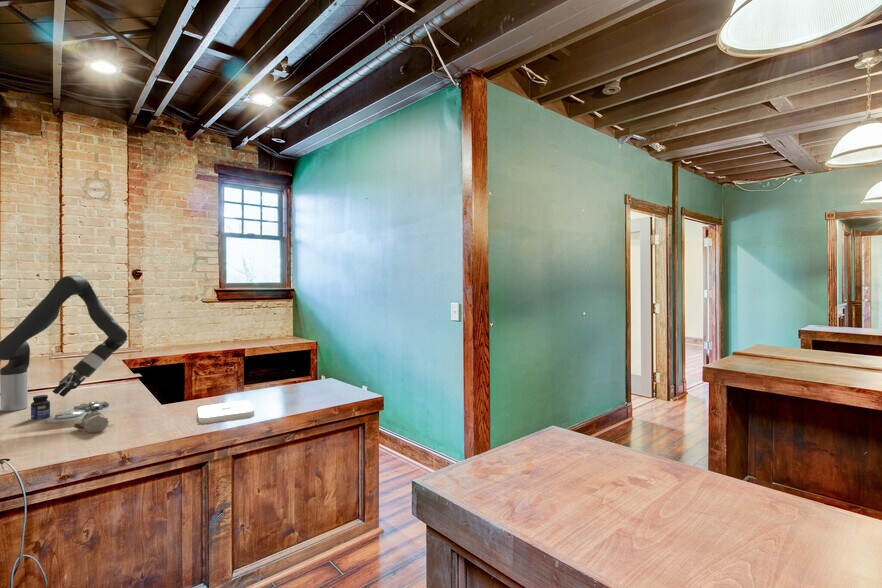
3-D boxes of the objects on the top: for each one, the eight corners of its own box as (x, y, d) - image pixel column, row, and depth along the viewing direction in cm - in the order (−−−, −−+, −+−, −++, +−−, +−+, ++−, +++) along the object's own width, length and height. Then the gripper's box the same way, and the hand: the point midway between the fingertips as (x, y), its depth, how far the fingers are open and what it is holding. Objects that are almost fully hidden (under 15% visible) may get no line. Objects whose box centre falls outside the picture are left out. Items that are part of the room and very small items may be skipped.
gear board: (65, 411, 200) (65, 408, 200) (110, 407, 208) (110, 404, 208) (45, 426, 179) (45, 422, 179) (96, 420, 186) (96, 417, 186)
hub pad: (59, 414, 191) (59, 411, 191) (88, 411, 196) (88, 408, 196) (51, 420, 182) (51, 417, 182) (81, 417, 187) (81, 414, 187)
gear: (78, 406, 203) (78, 400, 203) (111, 403, 209) (111, 397, 209) (69, 413, 192) (69, 407, 192) (104, 409, 198) (104, 404, 198)
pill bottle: (38, 424, 182) (37, 398, 182) (27, 423, 183) (26, 397, 183) (54, 419, 188) (53, 394, 188) (43, 418, 189) (42, 394, 189)
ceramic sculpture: (81, 414, 165) (72, 410, 175) (81, 437, 165) (72, 431, 174) (114, 408, 174) (104, 404, 183) (115, 430, 173) (105, 425, 183)
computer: (255, 416, 192) (254, 410, 192) (198, 425, 181) (198, 418, 181) (248, 405, 211) (248, 400, 211) (197, 412, 200) (197, 406, 200)
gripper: (76, 358, 201) (44, 387, 192) (87, 361, 194) (55, 391, 184) (90, 368, 206) (59, 396, 197) (102, 371, 198) (70, 401, 189)
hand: (57, 394), depth 190 cm, fingers open, 8 cm apart
